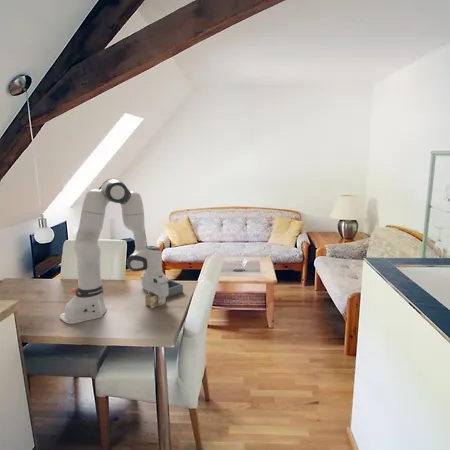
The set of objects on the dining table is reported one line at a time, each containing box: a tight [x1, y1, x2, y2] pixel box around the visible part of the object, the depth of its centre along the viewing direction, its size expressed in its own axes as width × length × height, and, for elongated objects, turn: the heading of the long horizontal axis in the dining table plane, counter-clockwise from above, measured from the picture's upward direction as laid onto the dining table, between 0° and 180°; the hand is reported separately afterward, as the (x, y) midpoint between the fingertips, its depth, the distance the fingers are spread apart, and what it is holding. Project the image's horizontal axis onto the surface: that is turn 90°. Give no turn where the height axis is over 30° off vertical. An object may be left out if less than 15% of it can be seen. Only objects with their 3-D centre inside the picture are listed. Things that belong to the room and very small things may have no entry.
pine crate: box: [144, 292, 167, 309], centre depth 215 cm, size 9×6×6 cm, turn 134°
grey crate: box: [166, 279, 184, 299], centre depth 230 cm, size 15×12×5 cm
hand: (155, 300), depth 215 cm, fingers closed on pine crate, 6 cm apart
